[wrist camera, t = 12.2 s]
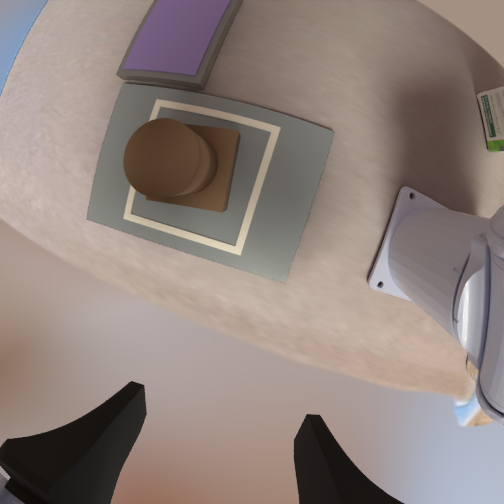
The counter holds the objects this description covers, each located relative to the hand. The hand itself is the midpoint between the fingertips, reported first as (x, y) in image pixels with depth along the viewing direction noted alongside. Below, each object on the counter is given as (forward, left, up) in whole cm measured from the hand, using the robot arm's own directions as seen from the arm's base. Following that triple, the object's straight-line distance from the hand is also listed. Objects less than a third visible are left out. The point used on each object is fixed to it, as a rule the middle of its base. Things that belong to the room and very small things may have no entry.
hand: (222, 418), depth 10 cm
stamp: (+6, -10, -10) cm, 15 cm away
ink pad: (+11, -20, -10) cm, 25 cm away
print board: (+6, -9, -10) cm, 15 cm away
